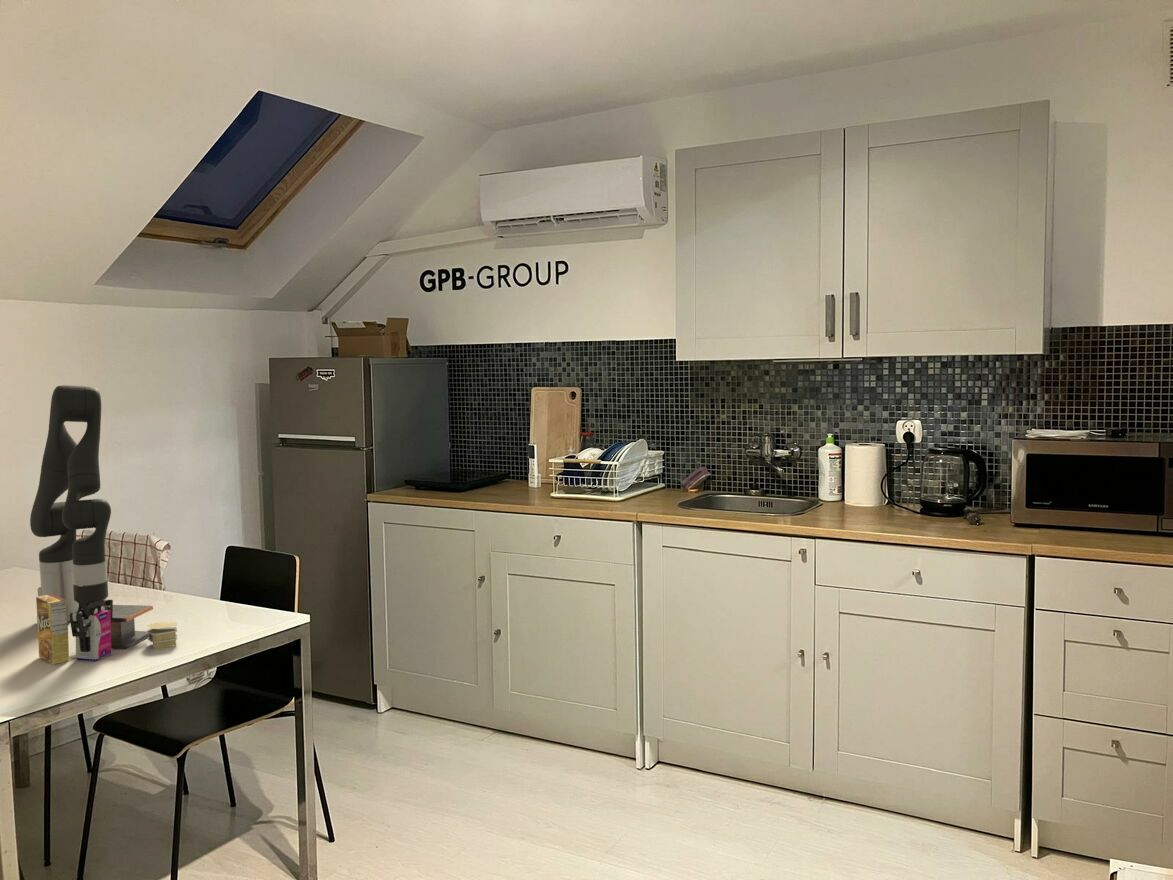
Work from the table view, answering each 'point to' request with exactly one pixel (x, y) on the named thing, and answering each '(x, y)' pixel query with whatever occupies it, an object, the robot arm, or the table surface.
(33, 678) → the table surface
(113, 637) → the stand
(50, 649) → the candy box
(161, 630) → the tan layered block
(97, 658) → the supplement box
